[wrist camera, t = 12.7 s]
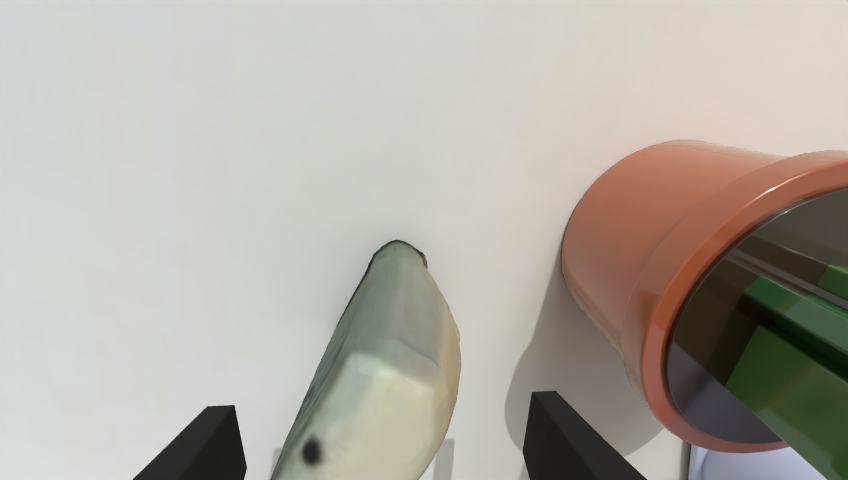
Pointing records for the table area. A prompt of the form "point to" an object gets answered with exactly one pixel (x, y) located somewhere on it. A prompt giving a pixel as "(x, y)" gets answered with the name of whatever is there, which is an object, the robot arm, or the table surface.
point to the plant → (724, 293)
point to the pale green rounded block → (380, 380)
